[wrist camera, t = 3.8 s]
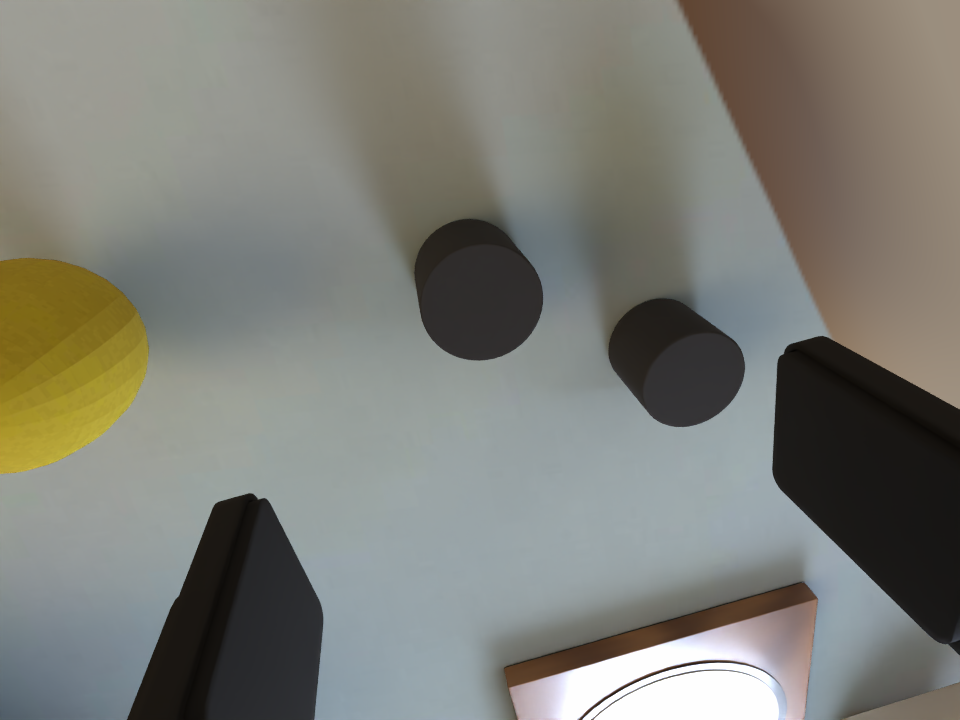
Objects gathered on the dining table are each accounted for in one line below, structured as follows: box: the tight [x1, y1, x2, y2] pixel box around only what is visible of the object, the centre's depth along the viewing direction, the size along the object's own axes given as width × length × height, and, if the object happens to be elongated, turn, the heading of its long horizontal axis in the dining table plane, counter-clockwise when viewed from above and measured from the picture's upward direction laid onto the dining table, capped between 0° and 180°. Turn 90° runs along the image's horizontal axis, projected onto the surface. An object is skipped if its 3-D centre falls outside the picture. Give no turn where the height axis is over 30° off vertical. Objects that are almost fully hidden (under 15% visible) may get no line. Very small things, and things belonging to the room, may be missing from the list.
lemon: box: [0, 258, 149, 474], centre depth 16 cm, size 6×6×8 cm
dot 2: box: [609, 299, 745, 427], centre depth 22 cm, size 4×4×4 cm
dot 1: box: [415, 219, 543, 360], centre depth 19 cm, size 4×4×4 cm
